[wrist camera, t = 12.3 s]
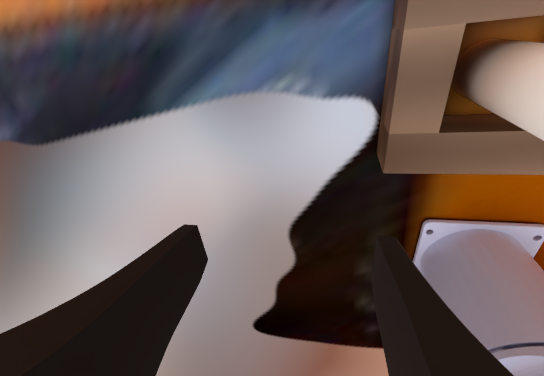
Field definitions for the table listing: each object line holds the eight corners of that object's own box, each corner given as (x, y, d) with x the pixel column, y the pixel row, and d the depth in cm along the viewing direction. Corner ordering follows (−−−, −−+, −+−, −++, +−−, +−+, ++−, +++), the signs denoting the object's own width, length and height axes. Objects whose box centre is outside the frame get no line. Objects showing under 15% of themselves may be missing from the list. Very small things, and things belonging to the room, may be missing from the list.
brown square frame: (547, 151, 16) (587, 175, 13) (376, 152, 18) (383, 173, 16) (656, -68, 11) (753, -96, 8) (398, -30, 13) (414, -42, 11)
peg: (502, 95, 15) (671, 166, 7) (444, 98, 16) (546, 166, 8) (524, 35, 13) (763, 49, 6) (458, 41, 14) (599, 61, 7)
